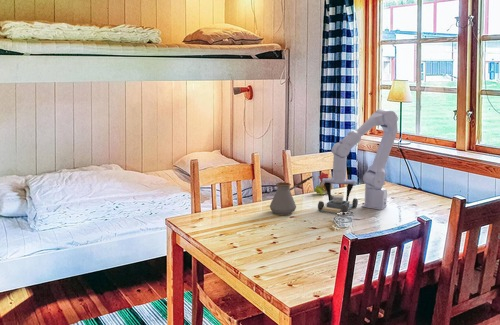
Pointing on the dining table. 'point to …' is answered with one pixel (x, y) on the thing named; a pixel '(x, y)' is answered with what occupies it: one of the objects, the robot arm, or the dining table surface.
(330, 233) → the dining table surface
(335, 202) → the block
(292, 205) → the coffee pot
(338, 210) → the chassis
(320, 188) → the bird rattle
